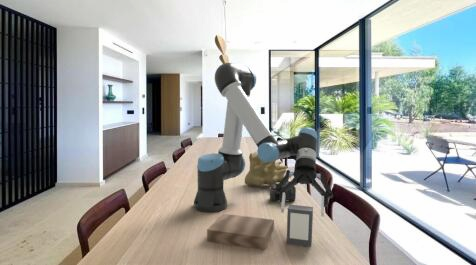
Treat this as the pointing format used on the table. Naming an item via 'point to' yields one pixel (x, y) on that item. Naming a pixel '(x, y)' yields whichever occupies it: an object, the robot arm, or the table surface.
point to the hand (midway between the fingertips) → (301, 212)
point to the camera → (289, 195)
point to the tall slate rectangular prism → (299, 225)
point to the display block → (241, 231)
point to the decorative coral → (264, 172)
